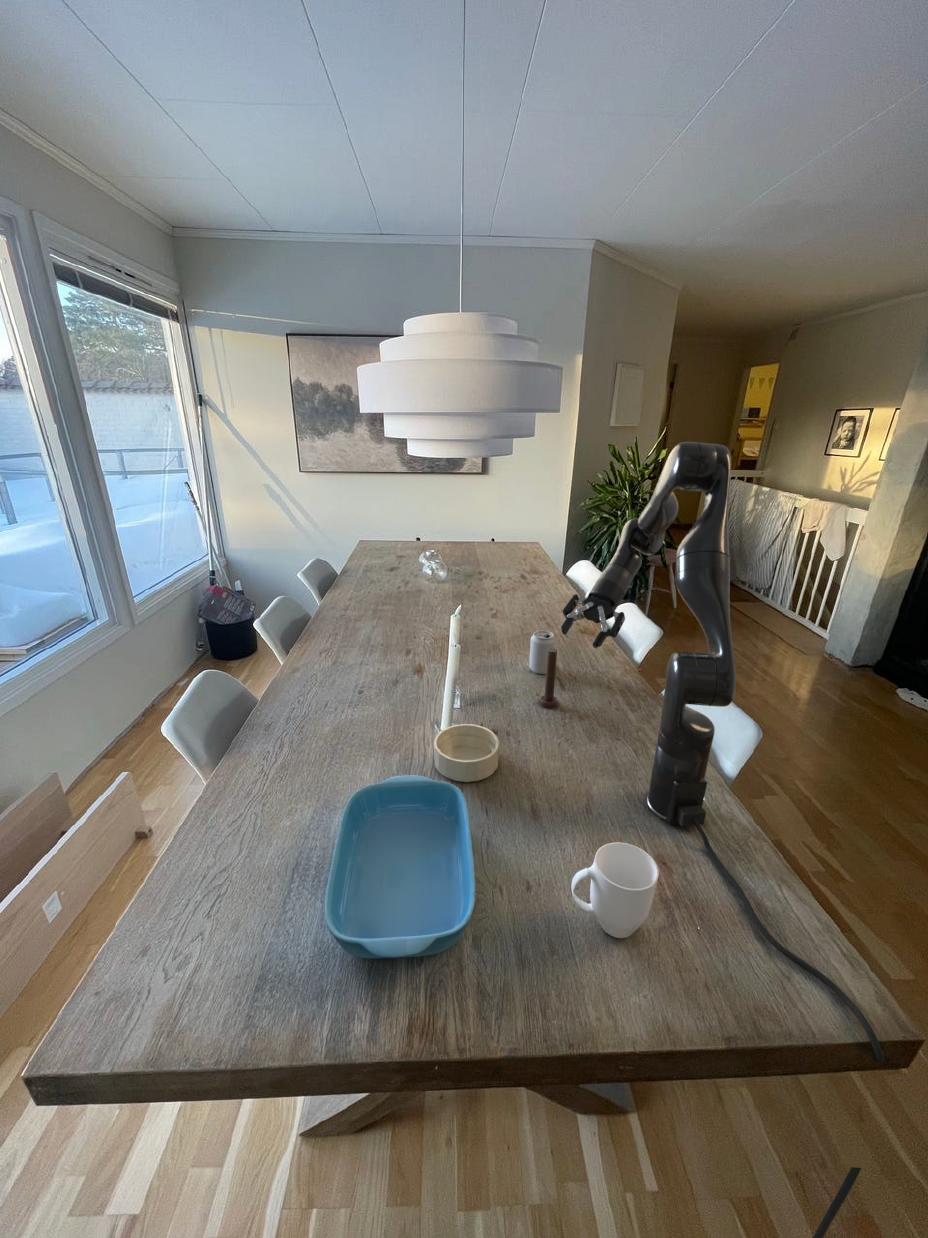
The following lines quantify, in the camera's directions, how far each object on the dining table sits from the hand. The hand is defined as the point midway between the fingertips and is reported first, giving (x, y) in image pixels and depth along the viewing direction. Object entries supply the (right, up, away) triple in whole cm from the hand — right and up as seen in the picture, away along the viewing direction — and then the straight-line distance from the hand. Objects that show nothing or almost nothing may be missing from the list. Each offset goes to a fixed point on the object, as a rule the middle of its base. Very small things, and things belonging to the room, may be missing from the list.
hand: (578, 639), depth 124 cm
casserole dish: (-37, -38, -38) cm, 66 cm away
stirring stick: (-5, -18, +15) cm, 24 cm away
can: (-4, -11, +34) cm, 36 cm away
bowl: (-27, -27, -9) cm, 39 cm away
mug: (-6, -42, -45) cm, 62 cm away
